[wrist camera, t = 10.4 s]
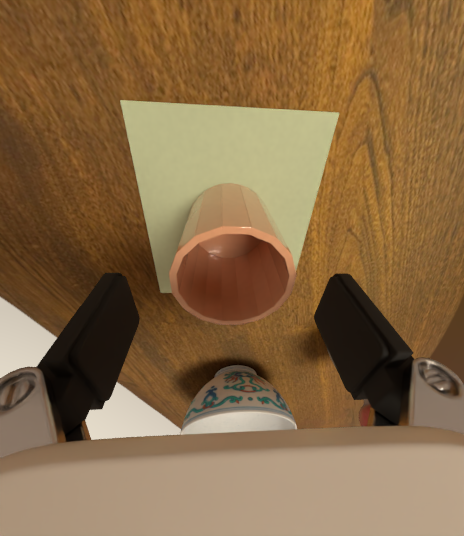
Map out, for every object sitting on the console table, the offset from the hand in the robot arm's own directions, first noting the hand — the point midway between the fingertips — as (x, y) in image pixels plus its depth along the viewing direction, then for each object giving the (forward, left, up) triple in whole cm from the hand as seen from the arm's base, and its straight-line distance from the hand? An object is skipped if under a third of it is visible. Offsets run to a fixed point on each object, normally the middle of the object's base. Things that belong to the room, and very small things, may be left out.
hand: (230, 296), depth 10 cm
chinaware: (+26, +2, -10) cm, 28 cm away
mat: (0, 0, -10) cm, 10 cm away
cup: (0, 0, -10) cm, 9 cm away
